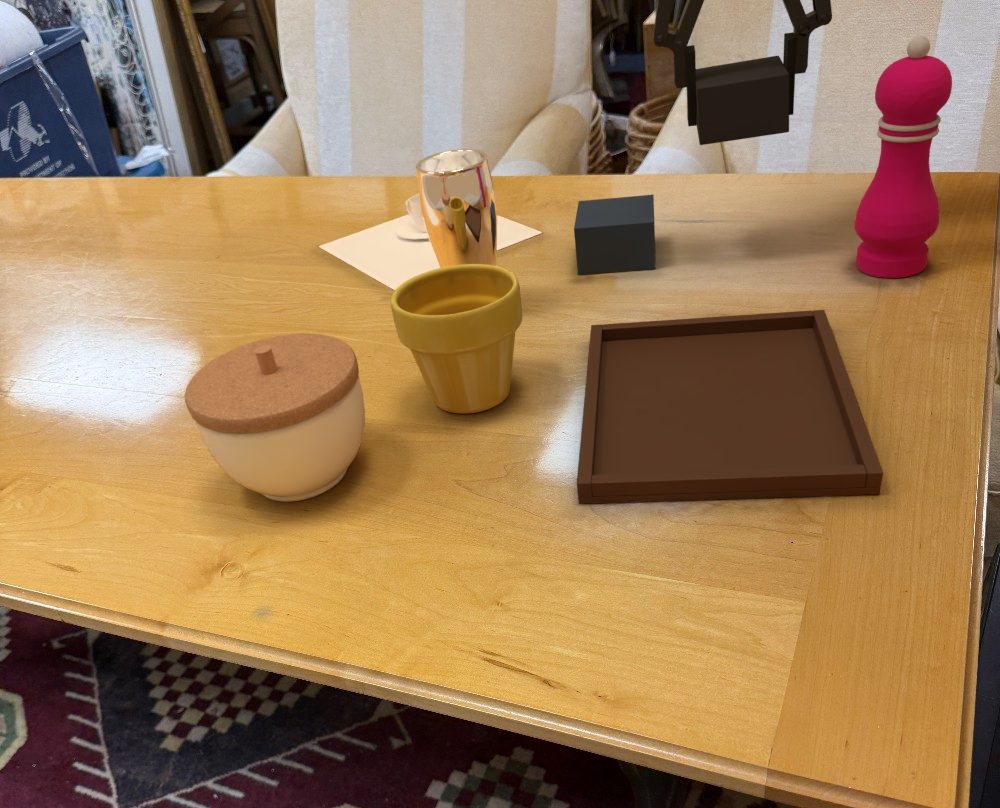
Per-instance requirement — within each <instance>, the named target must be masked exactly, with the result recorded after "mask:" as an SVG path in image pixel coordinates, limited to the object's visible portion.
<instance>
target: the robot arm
mask: <svg viewBox="0 0 1000 808" xmlns="http://www.w3.org/2000/svg"><path fill="white" fill-rule="evenodd" d="M656 1H657V2H656V8H655V17H654V26H653V34H652V35H653V44H654V45H655V46H656V47H658V48H661V47H663V48H666V49H669V50H671V52H672V53H673V77H674V78H673V81H674V85H675V88H676V89H685V88H686V118H687V126H688V127H697V125H696V84H695V82H696V69H697V68H696V63H697V62H696V48H695V44H692V45H689V42H690V40H691V37H692V34H693V32H694V28H695V26H696V23H697V21H698V19H699V15H700V13H701V10H702V7H703V5H704V2H705V0H686V2H685V5H684V7H683V11H682V13H681V16H680V18H679V21H678V24H677V27H676V30H675V31H674V30H669V27H670V19H671V13H672V12H671V11H672V5H673V0H656ZM811 2H812V11H810V12H808V13H806V12H805V11H806V10H805V9H804V6H803V4H802V1H801V0H782V3H783V5H784V8H785V9H786V13H787V15H788V18H789V20H790V23H791V25H792V28H793V31H792V32H784V33H783V56H782V57H783V58H782V59H783V60H782V62H783V64H784V66H785V68H786V70H787V71H788V73H789V116H794V112H795V111H794V110H795V106H794V105H795V85H796V84H795V83H796V75H799V74H806V71H807V69H808V67H809V50H810V49H809V46H810V35H811V34H812V32H814V31H815V30H817V29H818V28H820V27H822V26H827V25H829V24H830V23H831V22H832V20H833V11H832V2H831V0H811Z"/></svg>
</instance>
